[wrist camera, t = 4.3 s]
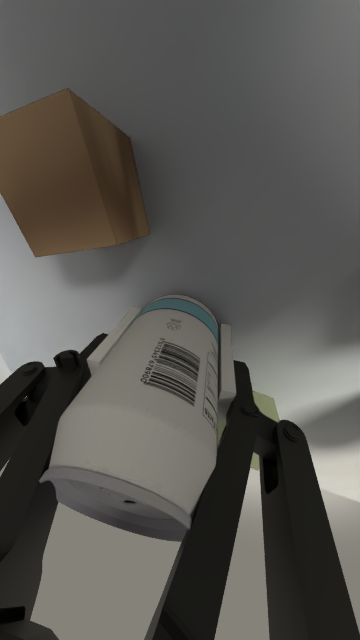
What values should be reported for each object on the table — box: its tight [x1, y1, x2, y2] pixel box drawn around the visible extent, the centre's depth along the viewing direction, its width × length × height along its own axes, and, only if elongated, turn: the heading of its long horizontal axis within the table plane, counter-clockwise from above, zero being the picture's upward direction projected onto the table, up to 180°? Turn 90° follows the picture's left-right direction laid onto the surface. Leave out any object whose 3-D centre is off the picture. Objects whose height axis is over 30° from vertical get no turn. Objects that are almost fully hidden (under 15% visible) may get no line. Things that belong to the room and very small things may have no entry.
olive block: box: [217, 391, 280, 470], centre depth 18 cm, size 5×5×5 cm
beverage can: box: [39, 295, 219, 542], centre depth 11 cm, size 7×7×12 cm
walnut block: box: [0, 88, 150, 257], centre depth 10 cm, size 5×5×5 cm
